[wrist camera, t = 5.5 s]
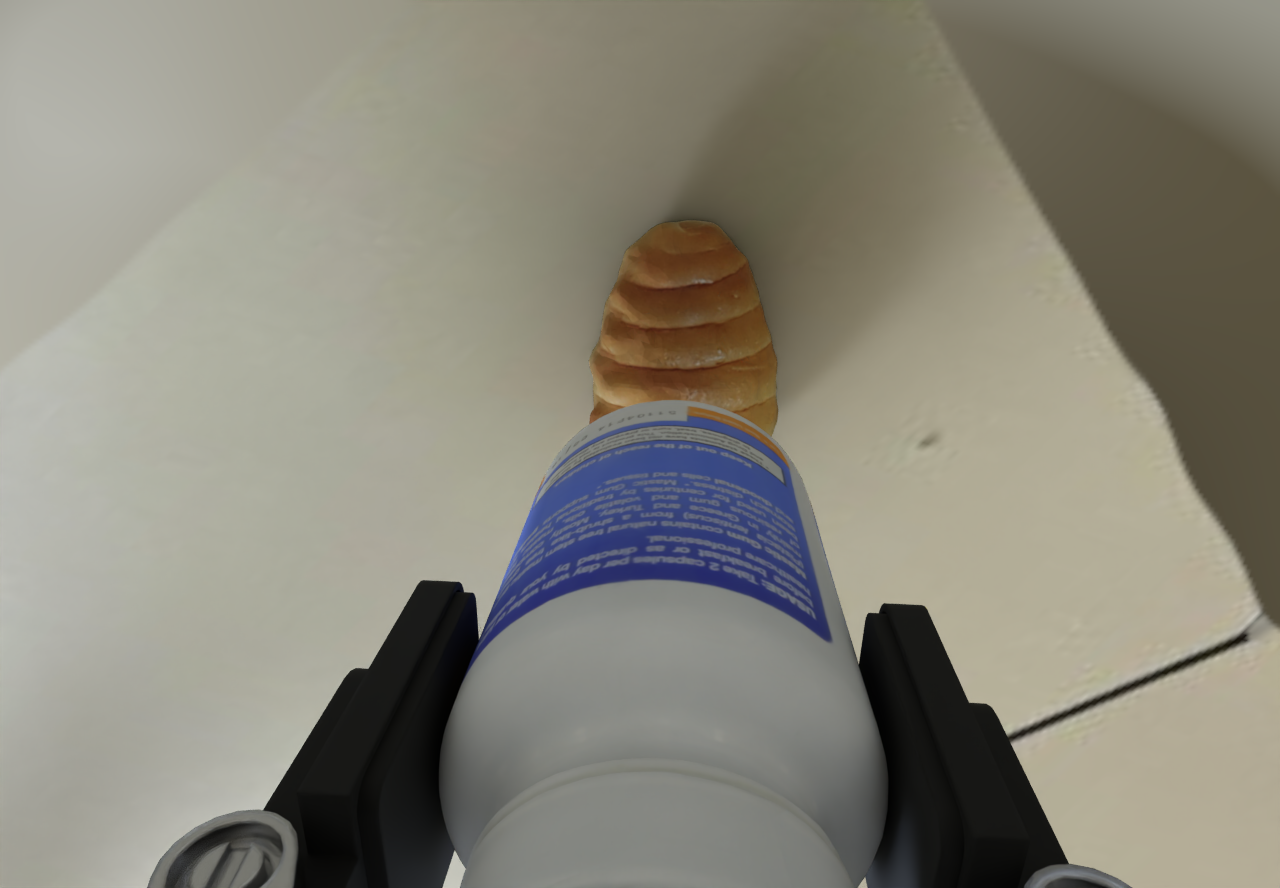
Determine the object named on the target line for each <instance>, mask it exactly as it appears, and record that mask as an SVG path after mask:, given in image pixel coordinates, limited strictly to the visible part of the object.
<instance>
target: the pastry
mask: <svg viewBox="0 0 1280 888" xmlns="http://www.w3.org/2000/svg"><path fill="white" fill-rule="evenodd" d="M589 365H590V369H591V372H592V375H593V381H594V382H593V398H594V409H593V411H592V412H591V415H590V424H591V423H592V422H594V421H596V420H597V419H599V418H601V417H603V416H604V415H607V414H609V413H611V412H614V411H616V410H618V409H621V408H625V407H628V406H631V405H635V404H639V403H645V402H654V401H662V400H683V401H693V402H699V403H704V404H708V405H712V406H716V407H719V408H722V409H725V410H728V411H730V412H733V413H735V414H737V415H739V416H741V417H743V418H745V419H747V420H749V421H750V422H752V423H754V424H755V425H756V426H758V427H759V428H761V429H762V430H763V431H765V432H766V433H768V434H769V435H770V436H772V434H773V431H774V427H775V425H776V422H777V416H778V406H777V400H776V389H777V385H776V374H777V357H776V354H775V352H774V350H773V345H772V339H771V334H770V332H769V329H768V327H767V324H766V321H765V317H764V312H763V308H762V306H761V302H760V299H759V292H758V289H757V287H756V284H755V281H754V278H753V275H752V272H751V270H750V268H749V263H748V260H747V258H746V257H745V256H744V255H743V254H742V253H741V252H740V251H739V250H738V249H737V248H736V247H735V245H734V244H733V242H732V241H731V239H730V238H729V237H728V236H727V235H726V234H725V233H724V231H723V230H722V229H721V228H720V227H719V226H717V225H716V224H714V223H712V222H707V221H698V220H684V221H678V222H665V223H661V224H658V225H656V226H654V227H653V228H651V229H650V230H649V231H648V232H647V233H646V234H644V235H643V236H642V237H641V238H640V239H639V240H638V241H636V242H635V243H634V244H633V245H631V246H630V247H629V248H628V249H627V250H626V252H625V254H624V257H623V260H622V264H621V267H620V269H619V274H618V279H617V282H616V283H615V285H614V287H613V289H612V291H611V293H610V296H609V297H608V299H607V301H606V303H605V308H604V313H603V319H602V330H601V334H600V338H599V341H598V343H597V345H596V346H595V348H594V349H593V351H592V353H591V356H590V359H589Z"/></svg>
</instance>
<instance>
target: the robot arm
mask: <svg viewBox="0 0 1280 888" xmlns="http://www.w3.org/2000/svg"><path fill="white" fill-rule="evenodd" d="M478 642H479V635H478V621H477V607H476V598H475V595H474V593H468V592H464V590H463V586H462V584H461V583H460V582H448V581H428V580H423V581H420V583H419V584H418V585H417V587H416V589H415V590H414V592H413V594H412V595H411V597H410V599H409V601H408V602H407V604H406V606H405V607H404V609H403V611H402V613H401V614H400V616H399V618H398V619H397V621H396V623H395V625H394V626H393V628H392V630H391V631H390V633H389V635H388V636H387V638H386V640H385V642H384V643H383V645H382V647H381V648H380V650H379V652H378V654H377V655H376V657H375V659H374V660H373V662H372V664H371V666H370V667H369V669H362V668H355V669H353V670H351V671H350V672H349V673H348V675H347V676H346V677H345V678H344V680H343V682H342V683H341V685H340V686H339V688H338V690H337V691H336V693H335V694H334V696H333V698H332V699H331V701H330V703H329V704H328V706H327V707H326V709H325V711H324V712H323V714H322V716H321V717H320V719H319V720H318V722H317V724H316V725H315V727H314V729H313V730H312V732H311V733H310V735H309V737H308V738H307V740H306V741H305V743H304V745H303V746H302V748H301V750H300V751H299V753H298V754H297V756H296V758H295V759H294V761H293V763H292V764H291V766H290V767H289V769H288V771H287V772H286V774H285V776H284V777H283V779H282V780H281V782H280V784H279V785H278V787H277V788H276V790H275V792H274V793H273V795H272V797H271V798H270V800H269V801H268V803H267V805H266V806H265V808H264V810H246V811H236V812H233V813H229V814H226V815H222V816H219V817H216V818H214V819H212V820H210V821H208V822H206V823H203V824H201V825H199V826H197V827H195V828H194V829H192V830H191V831H190V832H188V833H187V834H186V835H184V836H183V837H182V838H180V839H179V840H178V841H176V842H175V843H174V844H173V845H172V846H171V848H170V849H169V850H168V851H167V852H166V853H165V854H164V855H163V857H162V858H161V859H160V860H159V862H158V864H157V866H156V868H155V870H154V872H153V874H152V876H151V878H150V881H149V884H148V887H147V888H442V887H443V884H444V881H445V878H446V875H447V872H448V869H449V865H450V862H451V859H452V856H453V853H454V850H455V849H454V846H453V844H452V841H451V839H450V836H449V834H448V831H447V828H446V824H445V821H444V817H443V813H442V807H441V801H440V795H439V761H440V750H441V745H442V740H443V735H444V731H445V728H446V724H447V721H448V718H449V716H450V713H451V710H452V708H453V705H454V702H455V699H456V697H457V694H458V691H459V689H460V686H461V684H462V681H463V679H464V676H465V674H466V671H467V669H468V666H469V664H470V661H471V659H472V656H473V654H474V651H475V649H476V646H477V644H478ZM859 668H860V671H861V674H862V677H863V681H864V684H865V687H866V691H867V694H868V697H869V700H870V703H871V707H872V710H873V713H874V716H875V719H876V722H877V726H878V729H879V733H880V737H881V741H882V744H883V748H884V752H885V756H886V762H887V770H888V811H887V816H886V822H885V827H884V832H883V837H882V840H881V842H880V845H879V847H878V850H877V852H876V855H875V857H874V859H873V861H872V863H871V866H870V868H869V870H868V872H867V874H866V876H865V877H866V882H867V887H868V888H1132V887H1130V886H1129V885H1127V884H1126V883H1124V882H1122V881H1121V880H1119V879H1118V878H1116V877H1113V876H1111V875H1108V874H1106V873H1103V872H1101V871H1099V870H1096V869H1094V868H1089V867H1084V866H1079V865H1073V864H1069V863H1068V861H1067V859H1066V857H1065V855H1064V853H1063V850H1062V848H1061V846H1060V844H1059V842H1058V840H1057V838H1056V836H1055V834H1054V832H1053V830H1052V828H1051V826H1050V824H1049V822H1048V820H1047V818H1046V815H1045V813H1044V811H1043V809H1042V807H1041V805H1040V803H1039V801H1038V799H1037V797H1036V795H1035V793H1034V791H1033V789H1032V787H1031V785H1030V783H1029V780H1028V778H1027V776H1026V774H1025V772H1024V770H1023V768H1022V766H1021V764H1020V762H1019V760H1018V758H1017V756H1016V754H1015V752H1014V750H1013V747H1012V745H1011V743H1010V741H1009V739H1008V737H1007V735H1006V733H1005V731H1004V729H1003V727H1002V725H1001V723H1000V721H999V719H998V717H997V715H996V713H995V712H994V710H993V709H992V707H990V706H989V705H987V704H980V703H969V702H968V700H967V697H966V695H965V693H964V691H963V688H962V686H961V684H960V682H959V679H958V677H957V675H956V673H955V671H954V668H953V666H952V664H951V662H950V659H949V657H948V655H947V653H946V651H945V648H944V646H943V644H942V642H941V639H940V637H939V635H938V633H937V630H936V628H935V626H934V624H933V622H932V619H931V617H930V615H929V613H928V610H927V609H926V607H925V606H923V605H906V604H886V603H884V604H883V605H882V606H881V608H880V611H879V613H868V614H867V617H866V620H865V626H864V633H863V640H862V647H861V654H860V661H859Z"/></svg>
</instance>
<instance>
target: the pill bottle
mask: <svg viewBox="0 0 1280 888" xmlns="http://www.w3.org/2000/svg"><path fill="white" fill-rule="evenodd" d="M439 795H440V801H441V807H442V813H443V817H444V821H445V824H446V828H447V831H448V834H449V836H450V839H451V841H452V844H453V846H454V849H455V851H456V853H457V855H458V857H459V858H460V860H461V862H462V863H463V865H464V867H465V868H466V870H465V873H464V876H463V879H462V883H461V886H460V888H857V887H858V886H859V884H860V883H861V881H862V880H863V879H864V877H865V876H866V874H867V872H868V870H869V868H870V866H871V863H872V861H873V859H874V857H875V855H876V852H877V850H878V847H879V845H880V842H881V840H882V837H883V832H884V827H885V822H886V816H887V811H888V770H887V762H886V756H885V752H884V748H883V744H882V741H881V737H880V733H879V729H878V726H877V722H876V719H875V716H874V713H873V710H872V707H871V703H870V700H869V697H868V694H867V691H866V687H865V684H864V681H863V677H862V674H861V671H860V668H859V664H858V661H857V658H856V654H855V651H854V648H853V644H852V641H851V638H850V635H849V631H848V628H847V625H846V621H845V618H844V615H843V612H842V608H841V605H840V602H839V598H838V595H837V592H836V588H835V585H834V582H833V578H832V575H831V571H830V568H829V565H828V561H827V558H826V555H825V551H824V548H823V545H822V541H821V537H820V533H819V530H818V526H817V523H816V519H815V516H814V512H813V509H812V505H811V503H810V500H809V497H808V494H807V491H806V489H805V486H804V483H803V481H802V478H801V476H800V475H799V473H798V471H797V469H796V467H795V465H794V464H793V462H792V461H791V459H790V458H789V456H788V455H787V454H786V452H785V451H784V450H783V449H782V447H781V446H780V445H779V444H778V443H777V442H776V441H775V440H774V439H773V438H772V437H771V436H770V435H769V434H768V433H766V432H765V431H763V430H762V429H761V428H759V427H758V426H756V425H755V424H754V423H752V422H750V421H749V420H747V419H745V418H743V417H741V416H739V415H737V414H735V413H733V412H730V411H728V410H725V409H722V408H719V407H716V406H712V405H708V404H704V403H699V402H693V401H683V400H662V401H654V402H645V403H639V404H635V405H631V406H628V407H625V408H621V409H618V410H616V411H614V412H611V413H609V414H607V415H604V416H603V417H601V418H599V419H597V420H596V421H594V422H592V423H591V424H589V425H588V426H586V427H585V428H583V429H582V430H581V431H580V432H579V433H578V434H576V435H575V436H574V437H573V438H572V439H571V440H570V441H569V442H568V443H567V444H566V445H565V446H564V448H563V449H562V450H561V451H560V452H559V453H558V455H557V456H556V458H555V459H554V461H553V462H552V464H551V465H550V467H549V469H548V471H547V472H546V474H545V476H544V478H543V480H542V482H541V485H540V487H539V489H538V492H537V494H536V496H535V499H534V502H533V505H532V508H531V510H530V513H529V515H528V518H527V520H526V523H525V525H524V528H523V530H522V533H521V536H520V538H519V541H518V543H517V546H516V548H515V551H514V553H513V556H512V558H511V561H510V564H509V566H508V569H507V571H506V574H505V576H504V579H503V581H502V584H501V587H500V590H499V592H498V595H497V597H496V599H495V602H494V604H493V607H492V609H491V612H490V614H489V617H488V619H487V622H486V624H485V627H484V629H483V632H482V634H481V637H480V639H479V642H478V644H477V646H476V649H475V651H474V654H473V656H472V659H471V661H470V664H469V666H468V669H467V671H466V674H465V676H464V679H463V681H462V684H461V686H460V689H459V691H458V694H457V697H456V699H455V702H454V705H453V708H452V710H451V713H450V716H449V718H448V721H447V724H446V728H445V731H444V735H443V740H442V745H441V750H440V761H439Z"/></svg>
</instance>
